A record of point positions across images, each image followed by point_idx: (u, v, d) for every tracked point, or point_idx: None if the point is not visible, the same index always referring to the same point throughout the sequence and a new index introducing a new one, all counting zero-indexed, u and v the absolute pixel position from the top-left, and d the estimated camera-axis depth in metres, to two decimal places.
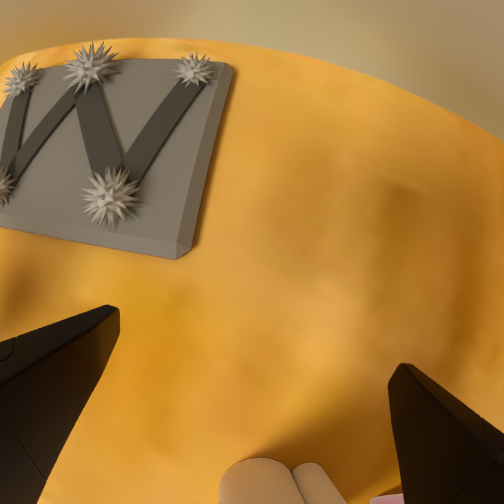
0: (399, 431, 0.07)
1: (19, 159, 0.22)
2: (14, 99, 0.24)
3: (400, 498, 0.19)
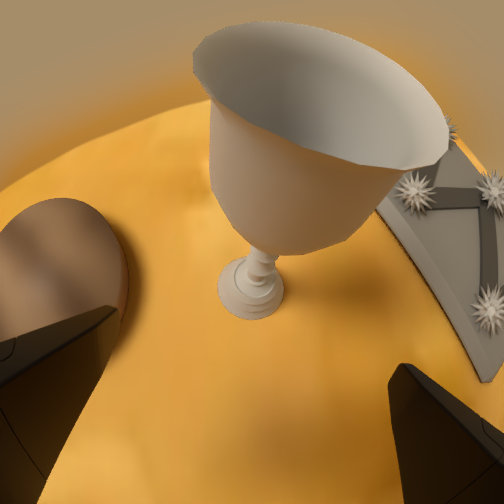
0: (399, 431, 0.07)
1: (434, 195, 0.27)
2: None
3: None
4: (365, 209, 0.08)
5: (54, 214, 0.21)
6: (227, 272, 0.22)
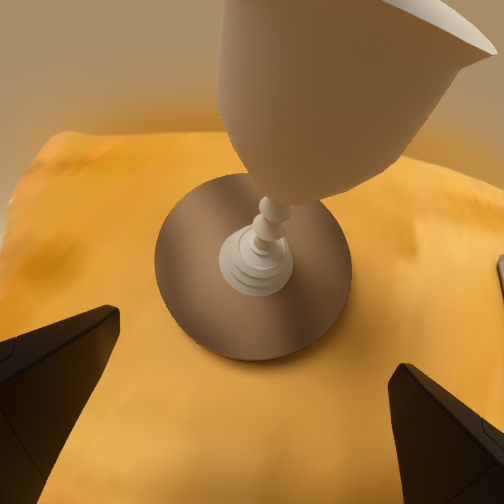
0: (399, 431, 0.07)
1: None
2: None
3: None
4: (412, 119, 0.06)
5: None
6: (230, 242, 0.19)
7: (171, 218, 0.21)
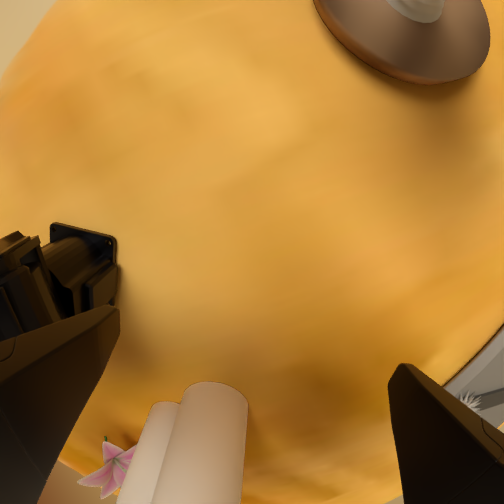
0: (399, 431, 0.07)
1: None
2: None
3: None
4: None
5: None
6: None
7: None
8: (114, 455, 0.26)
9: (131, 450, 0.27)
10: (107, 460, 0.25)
